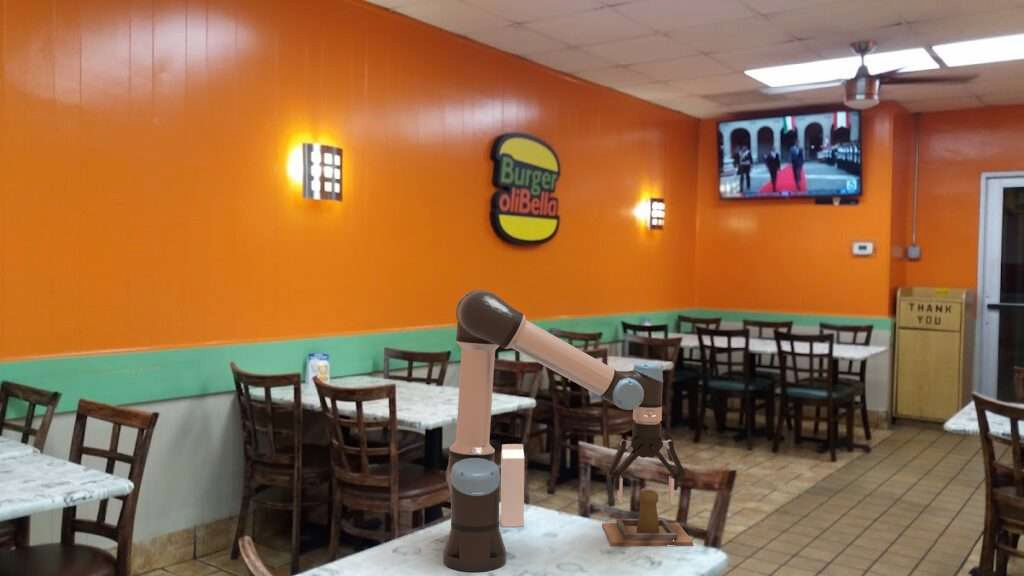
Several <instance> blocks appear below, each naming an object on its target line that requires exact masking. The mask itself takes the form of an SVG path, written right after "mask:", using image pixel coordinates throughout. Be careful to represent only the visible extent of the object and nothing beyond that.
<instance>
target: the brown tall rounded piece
mask: <svg viewBox="0 0 1024 576" xmlns="http://www.w3.org/2000/svg"><path fill="white" fill-rule="evenodd" d="M638 493H639V494H638V502H639V503H640V506H639V511H638V518H637V519H638V524H637V533H659V525H658V519H659V516H658V509H657V504H658V501H659V495H658V492H657V491H655V490H652V489H644V490H641V491H639V492H638Z"/></svg>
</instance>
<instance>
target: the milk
mask: <svg viewBox="0 0 1024 576" xmlns="http://www.w3.org/2000/svg"><path fill="white" fill-rule="evenodd" d="M524 520H525V453H524V444H523V443H512V444H511V443H508V444H507V443H506V444H501V452H500V523H501V527H502V528H516V527H517V528H519V527H520V528H521V527H522V528H524V525H525V521H524Z"/></svg>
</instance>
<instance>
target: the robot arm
mask: <svg viewBox="0 0 1024 576" xmlns="http://www.w3.org/2000/svg"><path fill="white" fill-rule="evenodd" d="M455 317H456V320H457V321H456V322H457V323H456V339H455V340H456V344H457V345H458V346H459V347H460V349H461V355H460V366H459V385H458V399H457V401H458V404H457V418H456V419H457V420H456V434H455V442H453V443H452V444H451V445H450V446H449V451H448V452H449V453H448V464H447V468H446V471H445V479H446V484H447V486H448V488H449V493H450V502H451V503H450V530H449V534H448V536H447V540H446V542H445V546H444V549H443V555H442V556H443V557H442V558H443V560H442V561H443V564H444V565H445V566H446V567H448V568H450V569H453V570H457V571H462V572H486V571H487V572H488V571H491V570H495V569H499V568H501V567H502V566H503V565H505V564H506V562H507V549H506V546H505V543H504V539H503V536H502V533H501V530H500V491H501V472H500V467H499V465H498V464H497V463H495V453H496V452H495V448H494V447H493V446H492V445H491V444H490V436H491V421H492V420H491V419H492V404H493V403H492V402H493V390H494V389H493V387H494V386H493V385H494V371H495V370H494V369H495V359H496V358H495V356H496V350H497V349H498V348H499V347H501V348H502V349H505V350H506V349H507V350H508V349H513V350H514V351H516V352H519V353H521V354H522V355H524V356H526V357H527V358H530V359H531V360H533V361H535V362H537V363H538V364H540V365H543V367H546V368H548V369H549V370H552V371H553V372H555V373H557V374H559V375H561V376H563V377H565V378H566V379H568V380H569V381H572V382H573V383H576V384H577V385H579V386H581V387H583V388H584V389H586V390H588V395H589V397H590V399H592V400H598V401H599V400H600V401H605V400H606V401H608V402H610V403H611V404H614V405H615V406H616V407H617V408H619V409H621V410H626V411H632V410H633V411H632V420H634V421H633V422H632V438H631V440H628V439H627V440H625V439H624V438H620V441H619V447H618V449H617V451H616V452H615V454H614V457H613V458H612V460H611V462H610V464H609V467H608V469H607V471H606V472H607V474H608V475H609V476H612V477H613V487H614V489H615V490H617V503H619V504H623V487H624V486H623V484H624V483H623V481H624V479H623V477H622V475H623V474H624V472H625V471H626V470H627V469H628V468H629V466H631V465H632V463H633V462H634V461H635V460H637V459H638V458H639V457H640V458H643V459H644V458H650V459H651V458H652V459H653V458H654V457H657V458H658V459H659V461H660V463H661V464H663V466H664V467H665V469H666V470H667V471H668V472H669V473H670V475H671V476H670V475H669V476H668V502H669V503H670V504H672V505H673V504H674V503H675V500H674V499H675V491H678V489H679V478H681V477H684V476H685V475H686V472H685V470H684V468H683V465H682V463H681V462H680V460H679V457H678V455H677V453H676V451H675V444H674V441H672V439H667V440H662V423H661V421H662V420H663V418H662V415H663V408H662V407H663V406H662V405H663V387H664V386H663V383H664V378H663V377H664V376H663V374H664V373H663V367H662V365H660V364H659V363H656V362H636V363H634V365H633V368H632V370H616V369H615V368H613V367H611V366H610V365H608V364H606V363H604V362H602V361H601V360H599V359H597V358H595V357H594V356H591V355H589V354H588V353H586V352H584V351H582V350H581V349H579V348H576V347H575V346H573V345H572V344H570V343H568V342H566V341H564V340H563V339H561V338H559V337H558V336H556V335H553V334H552V333H550V332H548V331H547V330H545V329H543V328H541V327H540V326H538V325H535V324H534V323H532V322H530V321H528V320H527V318H526V315H525V313H522V312H521V311H519V310H518V309H516V308H514V307H513V306H512V305H510V304H509V303H507V302H506V301H505V300H504V299H502V298H501V297H500V296H499V295H498V294H496V293H494V292H491V291H490V290H483V289H475V290H471V291H469V292H467V293H466V294H464V295H463V296H462V297H461V298H460V300H459V301H458V303H457V306H456V311H455ZM629 447H631V448H632V451H631V452H630V454H629V455H628V456H627V457H626V458H625V459H624V461H623V462H622V463H621V464H620V465H619V463H620V461H621V460H622V457H623V456H624V454H625V453H626V449H628V448H629ZM663 447H664V448H665V449H666V450H667V451H668V453H669V455H670V458H671V459H672V461H673V464H674V465H675V467H676V470H675V469H674V468H673V467H672V465H671V464H670V463H669V462H668V461H667V460H666V458H665V457H664V455H662V453H661V452H660V451H661V449H662V448H663ZM618 465H619V466H618ZM617 467H618V468H617Z"/></svg>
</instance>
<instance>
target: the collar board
mask: <svg viewBox="0 0 1024 576" xmlns="http://www.w3.org/2000/svg"><path fill="white" fill-rule="evenodd" d="M637 524H638V518H616V522H602V523H601V527H602V530H603V533H604V535H605V536H606V538H607V540H608V543H609V545H610V547H668V546H667V545H675V546H674V547H694V541H693V540H692V539H691V537H690V536H689V535H688V534H687V532H686V531H685V530H684V528H683V527H682V526H681V524H680V522H669V521H668V520H667V519H666V518H658V525H659V533H637ZM673 540H674V541H673Z"/></svg>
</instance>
